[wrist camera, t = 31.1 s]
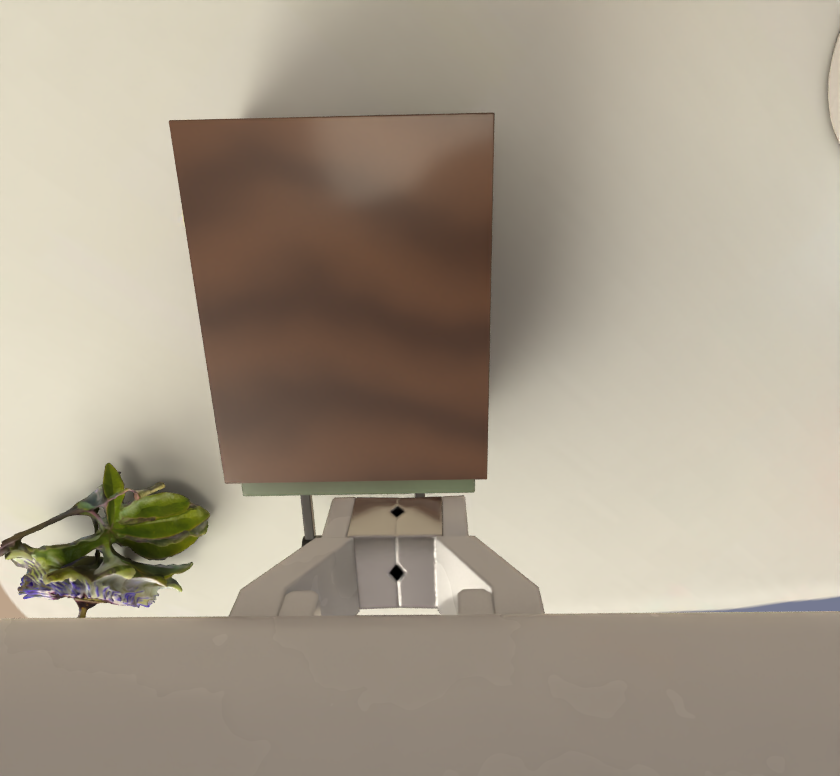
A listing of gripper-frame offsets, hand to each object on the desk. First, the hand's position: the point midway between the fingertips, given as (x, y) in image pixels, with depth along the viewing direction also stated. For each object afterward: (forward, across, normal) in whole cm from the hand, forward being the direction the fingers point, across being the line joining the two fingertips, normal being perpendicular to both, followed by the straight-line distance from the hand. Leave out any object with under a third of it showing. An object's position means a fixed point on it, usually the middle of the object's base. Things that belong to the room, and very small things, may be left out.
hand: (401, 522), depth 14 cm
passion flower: (+28, +23, +18) cm, 41 cm away
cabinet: (+29, +4, 0) cm, 29 cm away
